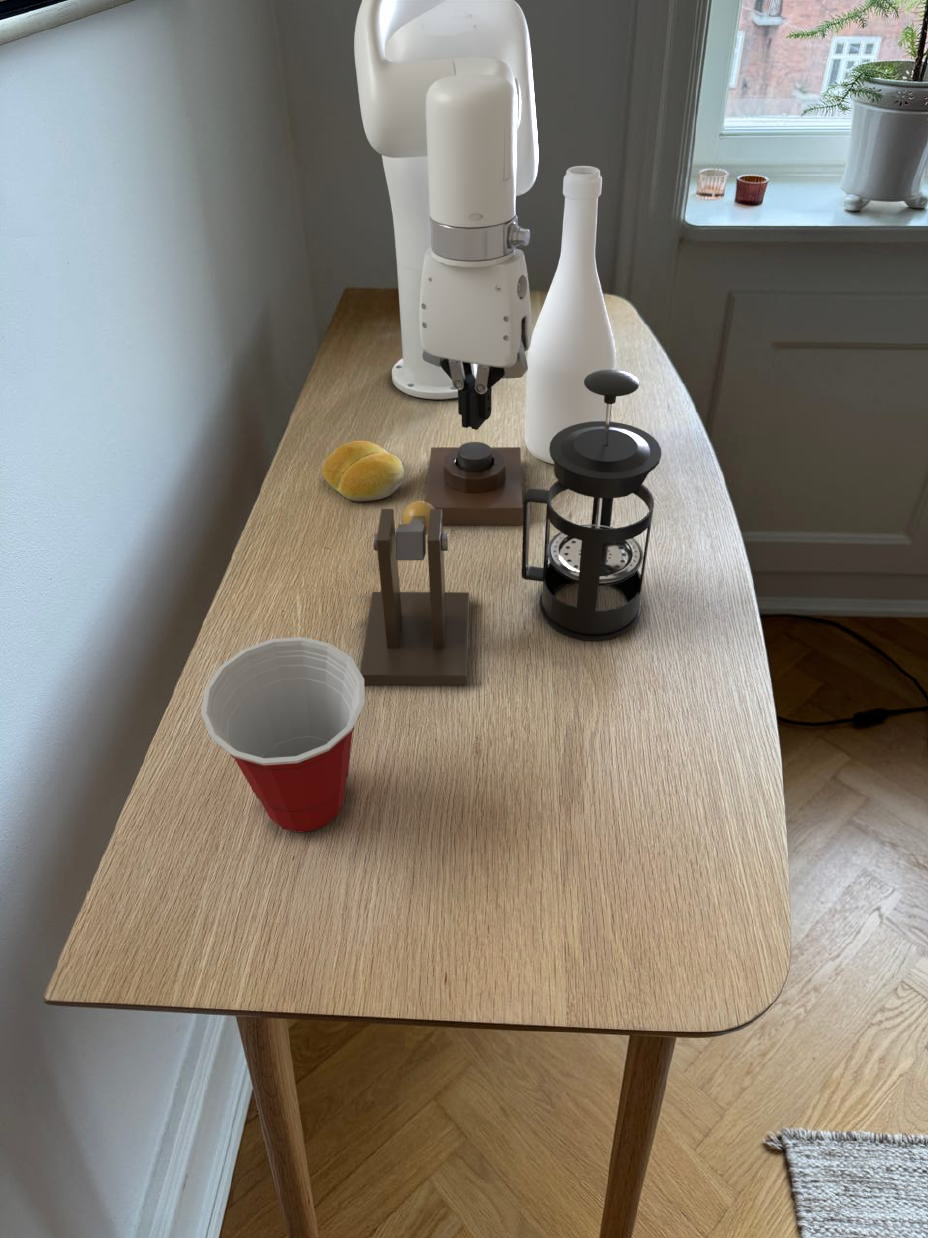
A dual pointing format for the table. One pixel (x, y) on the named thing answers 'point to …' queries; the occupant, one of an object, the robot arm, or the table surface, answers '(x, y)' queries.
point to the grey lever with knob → (413, 532)
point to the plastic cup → (288, 725)
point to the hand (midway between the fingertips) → (475, 422)
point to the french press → (595, 519)
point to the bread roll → (363, 471)
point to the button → (474, 457)
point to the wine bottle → (570, 326)
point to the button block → (476, 488)
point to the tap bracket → (415, 618)
